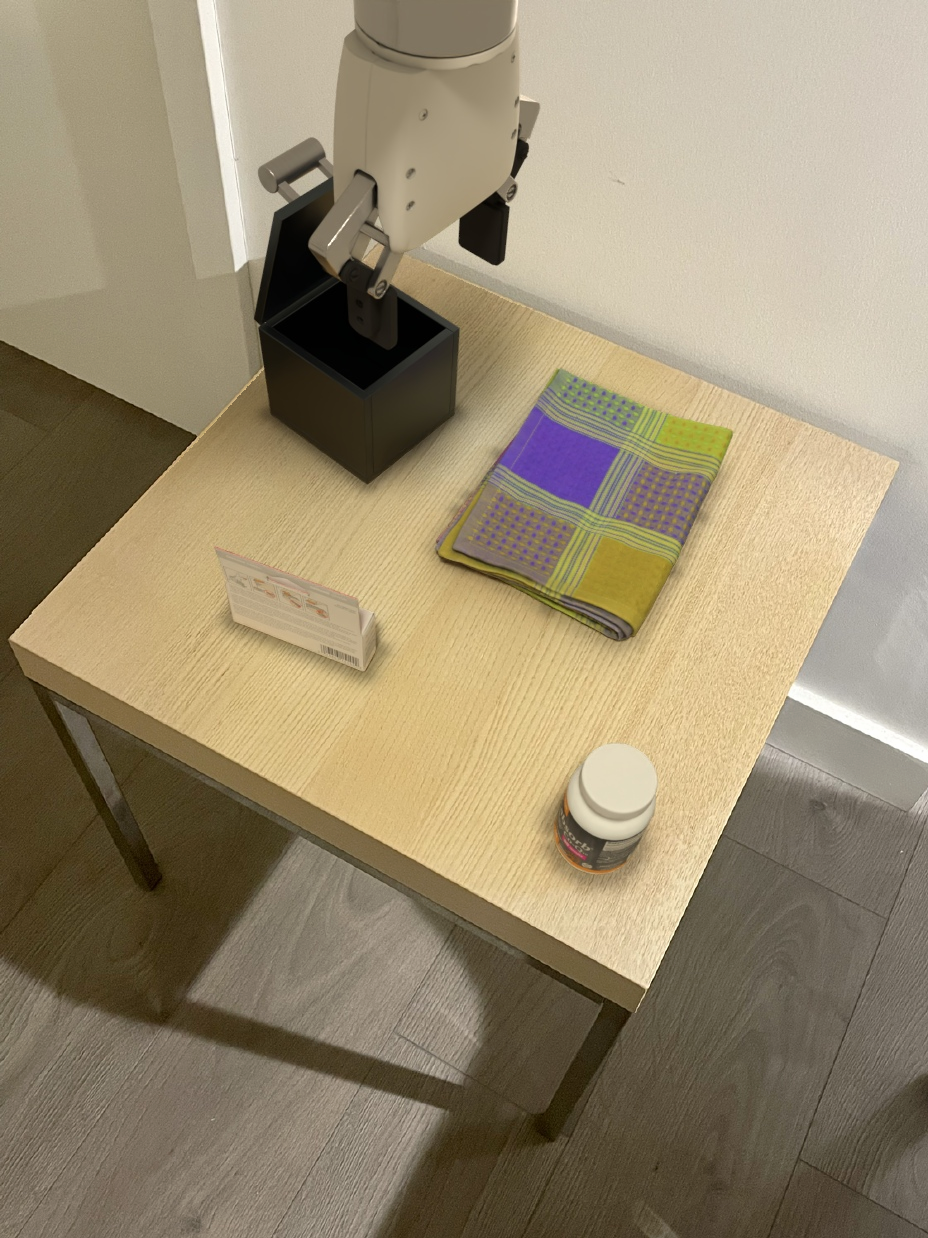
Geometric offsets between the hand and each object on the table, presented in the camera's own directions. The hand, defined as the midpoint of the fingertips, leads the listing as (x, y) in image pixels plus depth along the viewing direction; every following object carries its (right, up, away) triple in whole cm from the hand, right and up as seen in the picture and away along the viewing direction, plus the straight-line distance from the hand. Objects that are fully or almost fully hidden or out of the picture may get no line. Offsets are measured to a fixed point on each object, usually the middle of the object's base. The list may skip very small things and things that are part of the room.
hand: (428, 293), depth 63 cm
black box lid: (-8, +9, +18) cm, 22 cm away
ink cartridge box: (-10, -21, +18) cm, 29 cm away
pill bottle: (+11, -34, +10) cm, 37 cm away
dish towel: (+12, -10, +26) cm, 31 cm away
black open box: (-7, -1, +30) cm, 31 cm away
